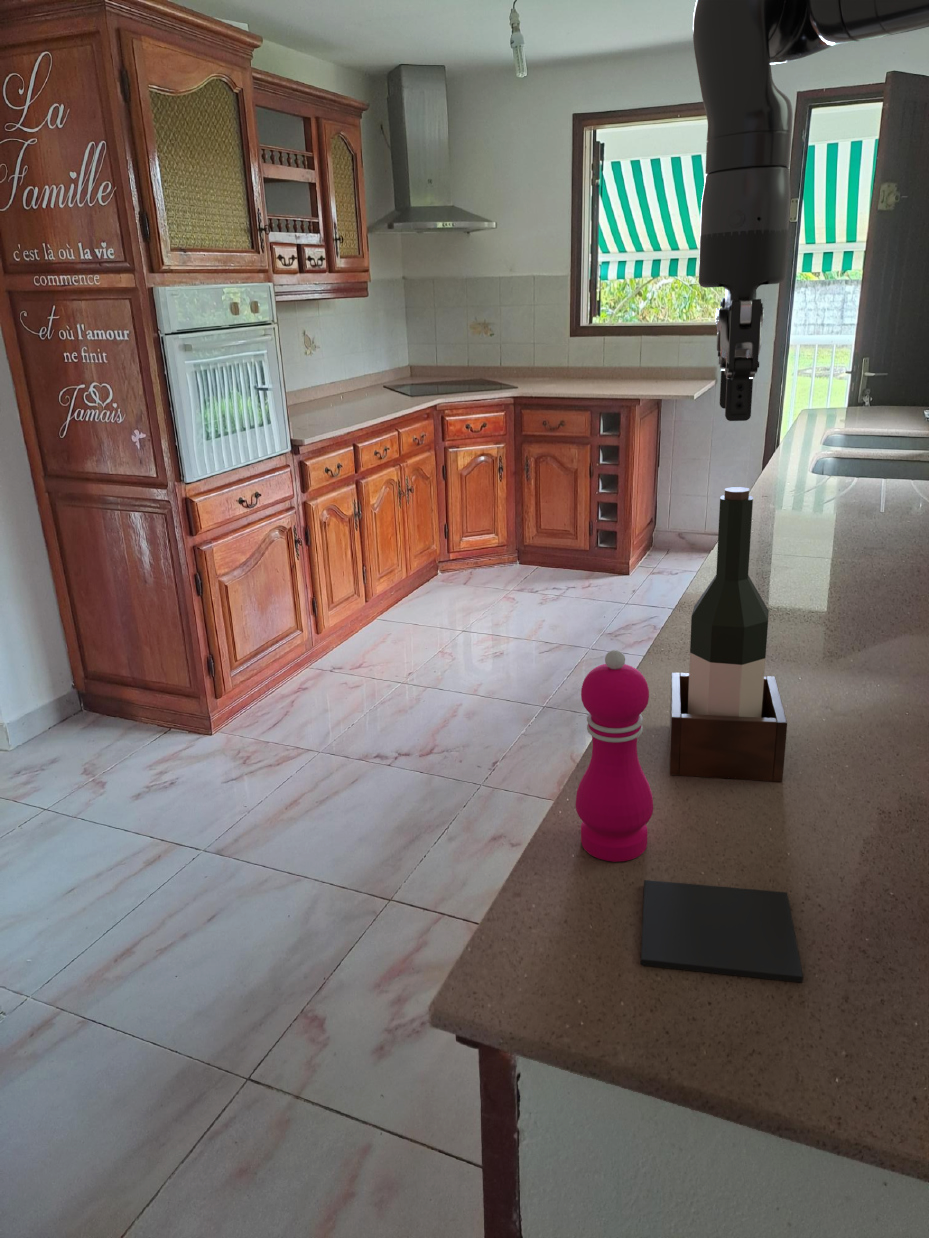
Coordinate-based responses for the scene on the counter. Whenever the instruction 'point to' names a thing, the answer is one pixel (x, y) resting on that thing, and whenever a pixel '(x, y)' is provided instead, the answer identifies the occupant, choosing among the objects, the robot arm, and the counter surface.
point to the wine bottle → (729, 623)
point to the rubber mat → (719, 931)
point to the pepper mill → (614, 763)
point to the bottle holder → (727, 738)
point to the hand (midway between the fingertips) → (734, 413)
